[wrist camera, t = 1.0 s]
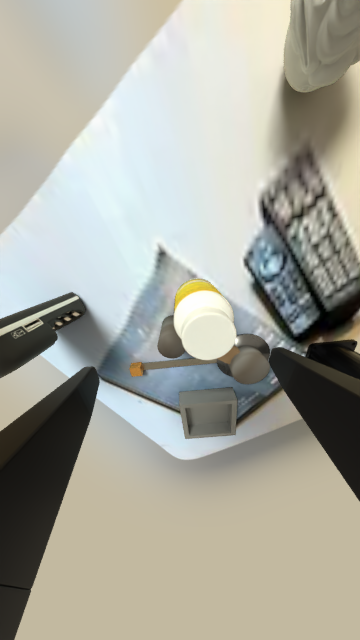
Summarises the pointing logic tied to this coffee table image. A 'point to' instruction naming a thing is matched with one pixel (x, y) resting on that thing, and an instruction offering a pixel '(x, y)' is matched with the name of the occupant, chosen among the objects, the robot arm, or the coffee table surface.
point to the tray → (208, 412)
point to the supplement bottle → (203, 320)
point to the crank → (240, 360)
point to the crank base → (241, 340)
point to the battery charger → (35, 330)
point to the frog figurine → (321, 42)
